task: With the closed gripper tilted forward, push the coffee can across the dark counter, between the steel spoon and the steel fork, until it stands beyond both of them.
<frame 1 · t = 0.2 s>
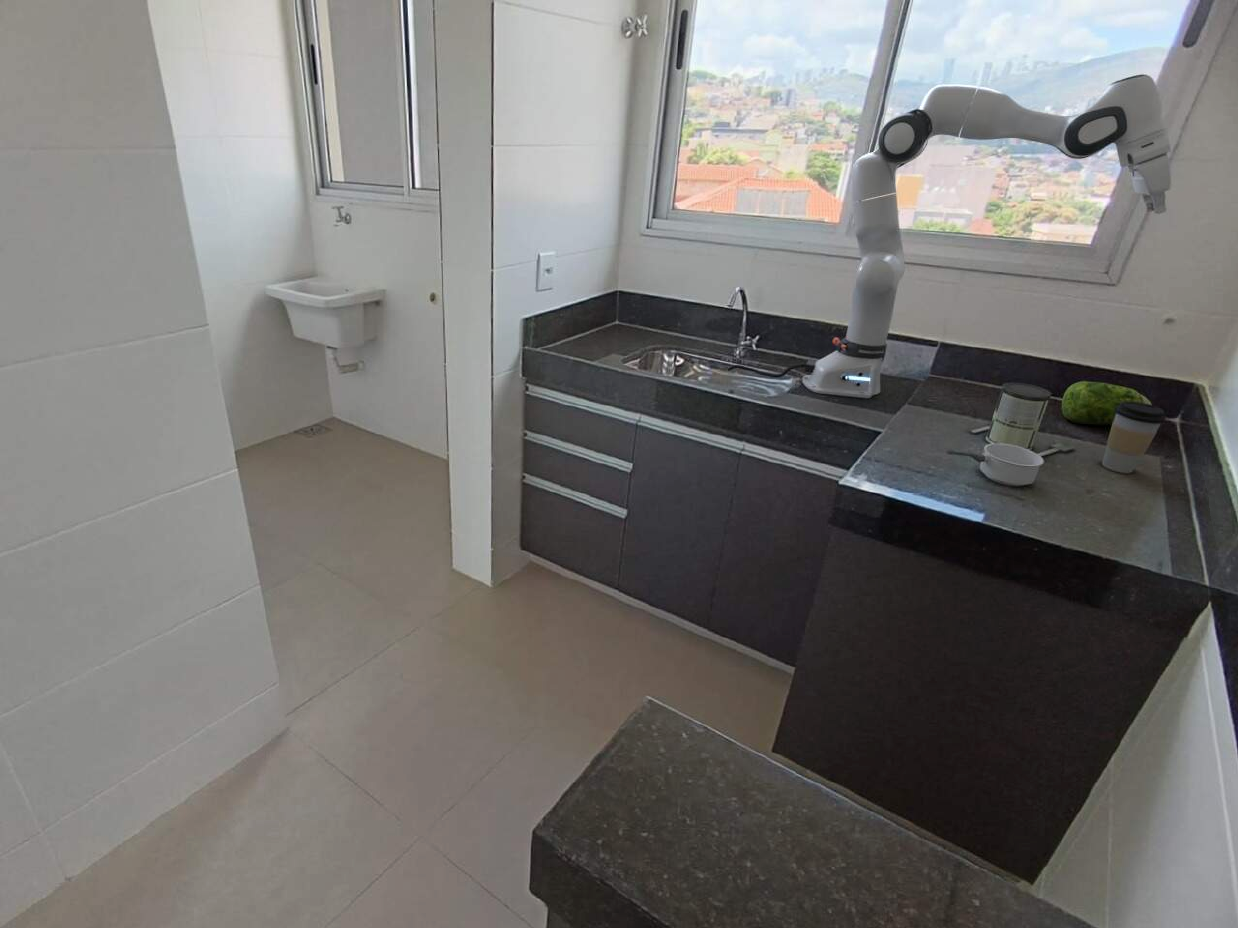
hand: (1156, 211, 149), 54 cm above the countertop, tool tilted 30°, fingers open, 8 cm apart
coffee cup: (1116, 468, 152), on the countertop
coffee can: (1008, 444, 162), on the countertop
green oval lump: (1100, 424, 178), on the countertop
fork: (989, 428, 170), on the countertop
spoon: (1051, 452, 158), on the countertop
saucepan: (985, 476, 144), on the countertop
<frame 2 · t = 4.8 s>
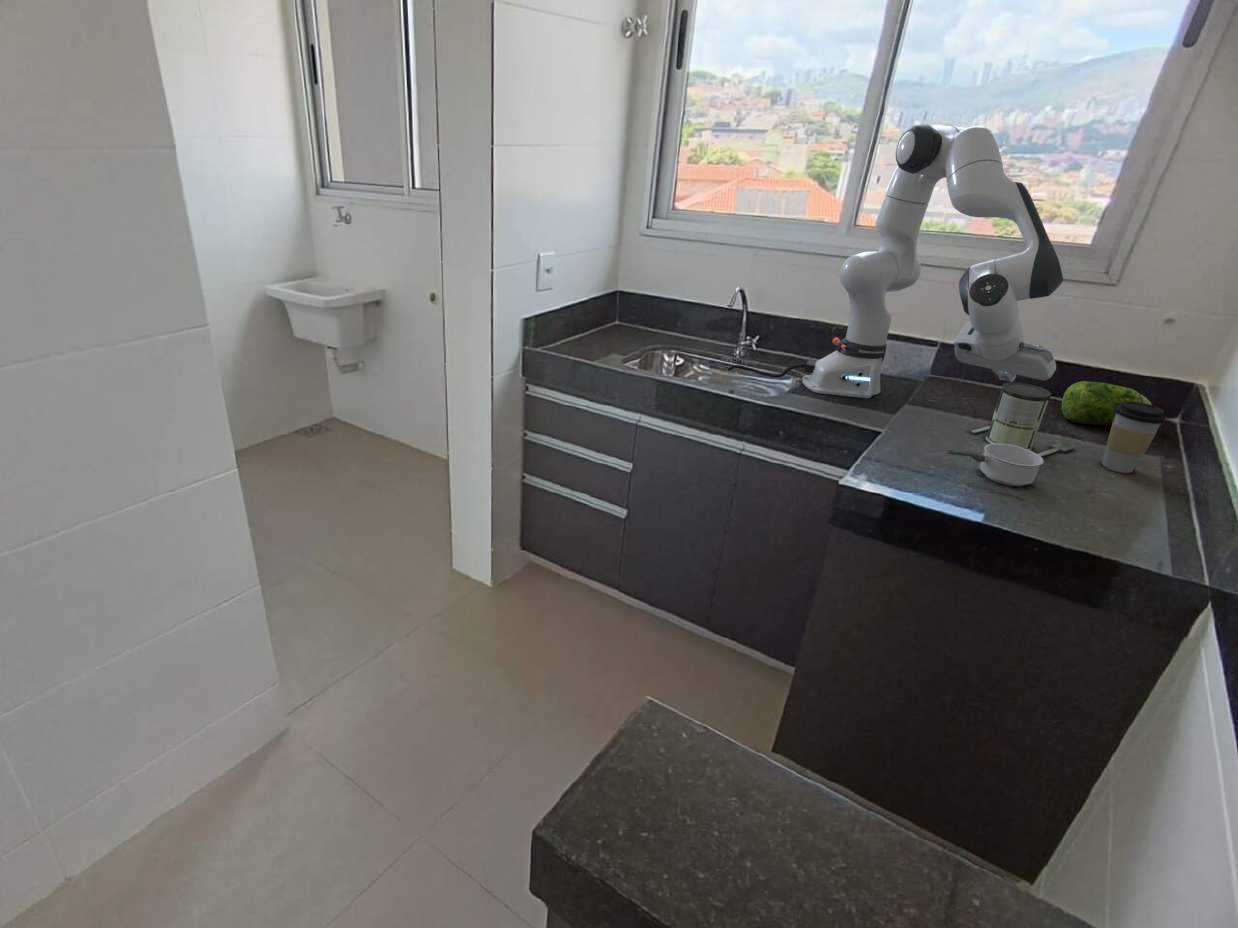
hand: (1007, 378, 150), 18 cm above the countertop, tool tilted 45°, fingers closed
nothing on the countertop moved.
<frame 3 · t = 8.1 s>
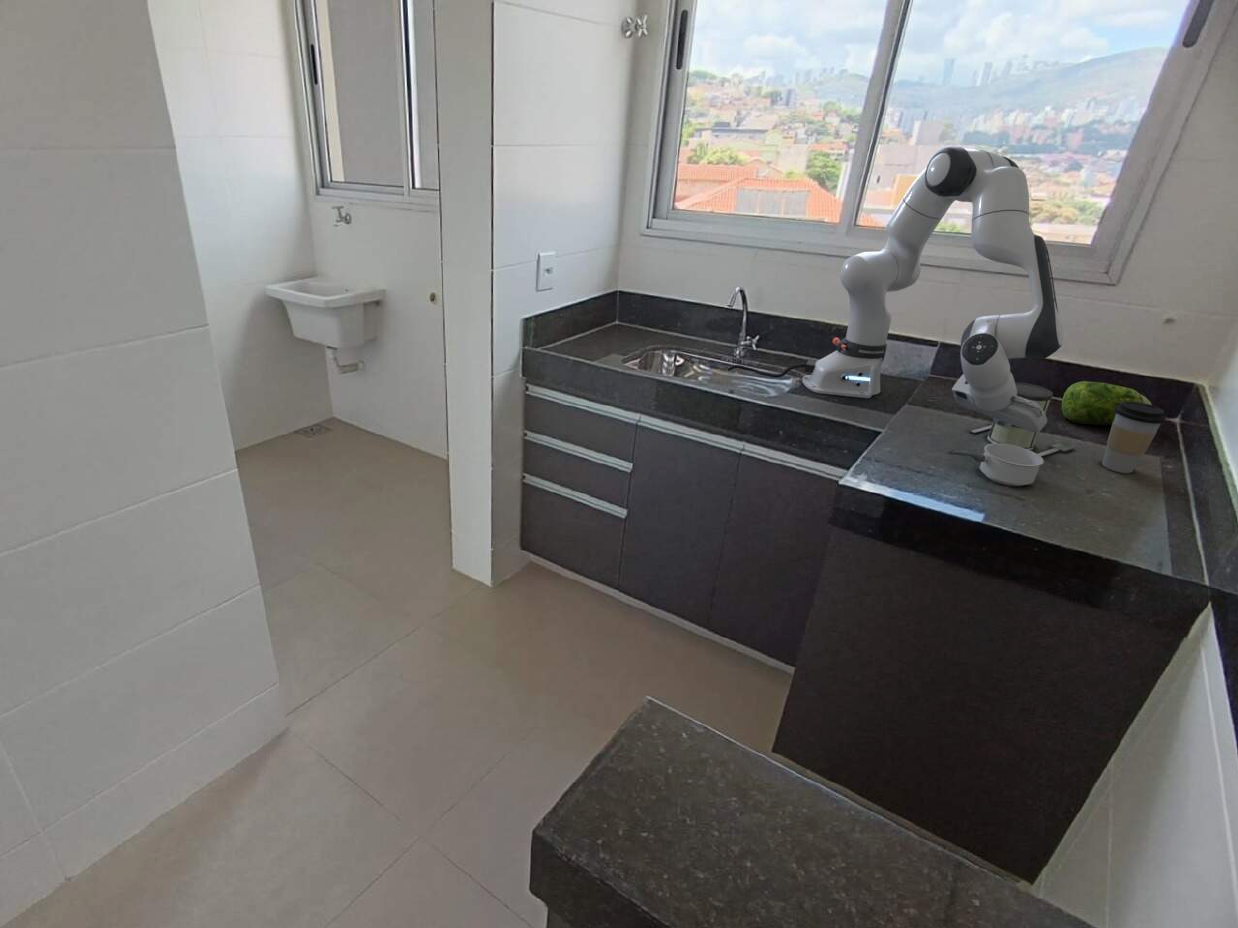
hand: (1004, 424, 157), 6 cm above the countertop, tool tilted 45°, fingers closed, pressing on coffee can
coffee can: (1009, 443, 162), on the countertop, touching gripper
everything else where it was.
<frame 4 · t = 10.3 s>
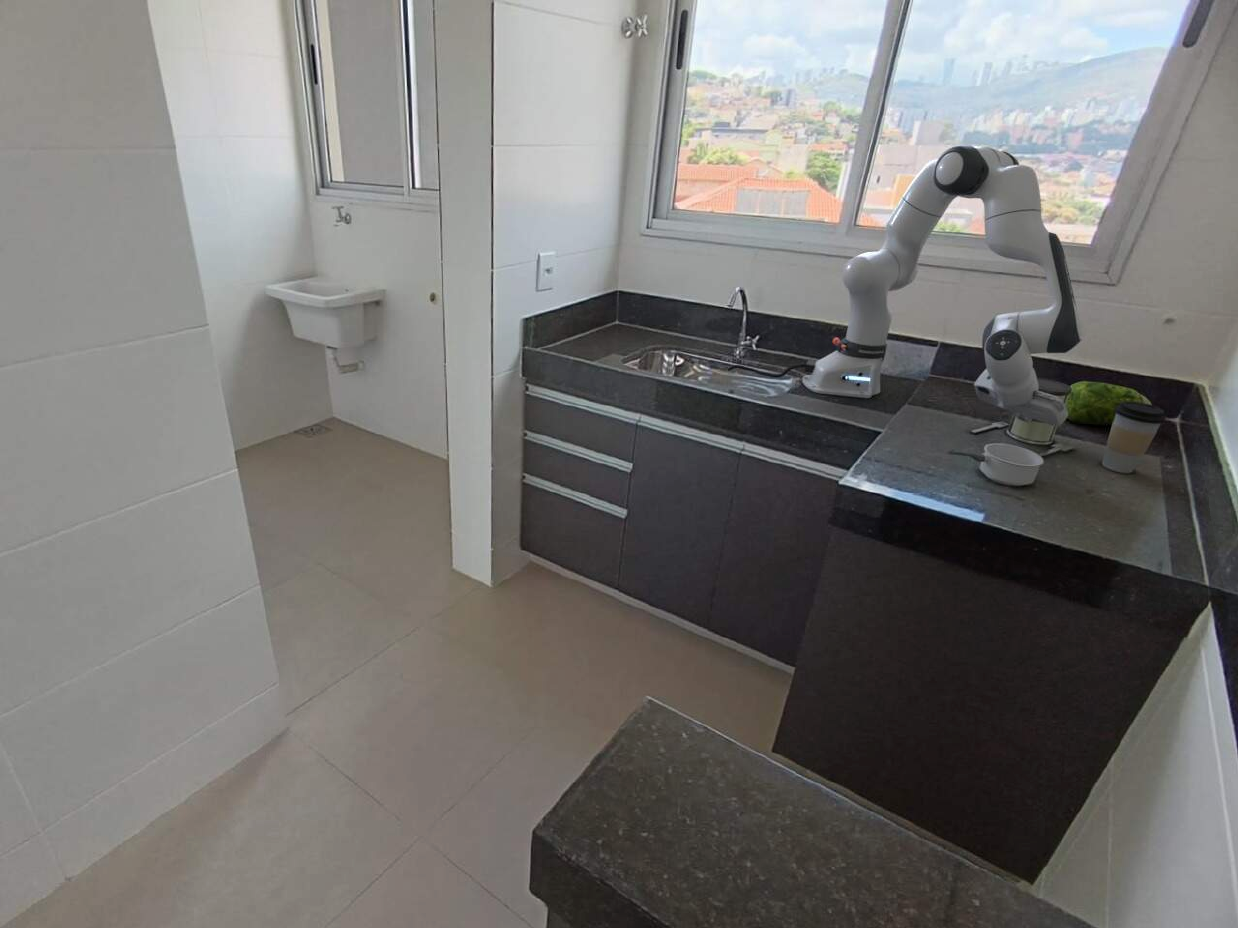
hand: (1025, 419, 161), 6 cm above the countertop, tool tilted 45°, fingers closed, pressing on coffee can
coffee can: (1028, 437, 167), on the countertop, touching gripper
everything else where it was.
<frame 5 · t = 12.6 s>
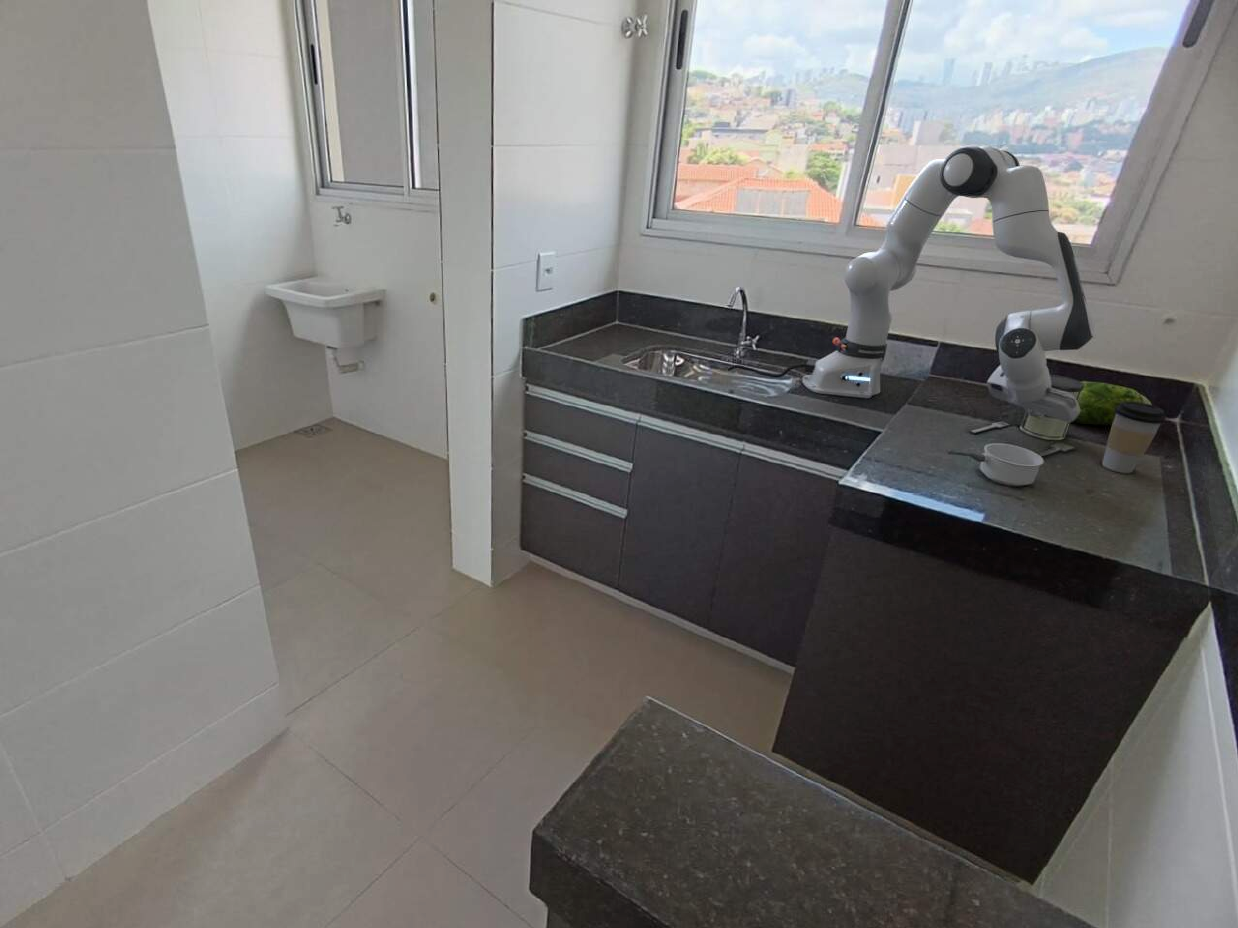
hand: (1037, 415, 164), 6 cm above the countertop, tool tilted 45°, fingers closed
coffee can: (1041, 433, 170), on the countertop
everything else where it was.
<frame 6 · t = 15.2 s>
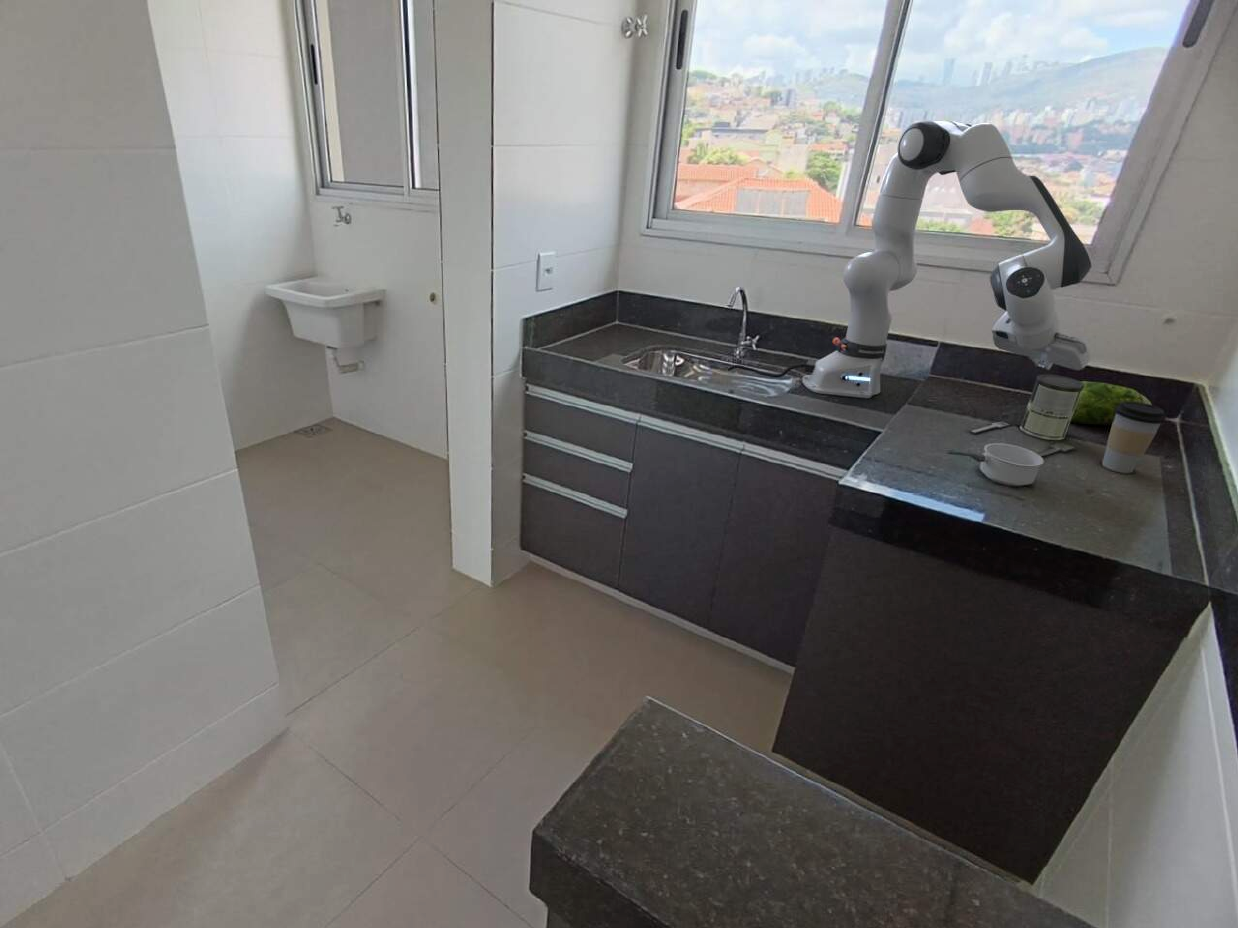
hand: (1044, 366, 156), 19 cm above the countertop, tool tilted 45°, fingers closed
nothing on the countertop moved.
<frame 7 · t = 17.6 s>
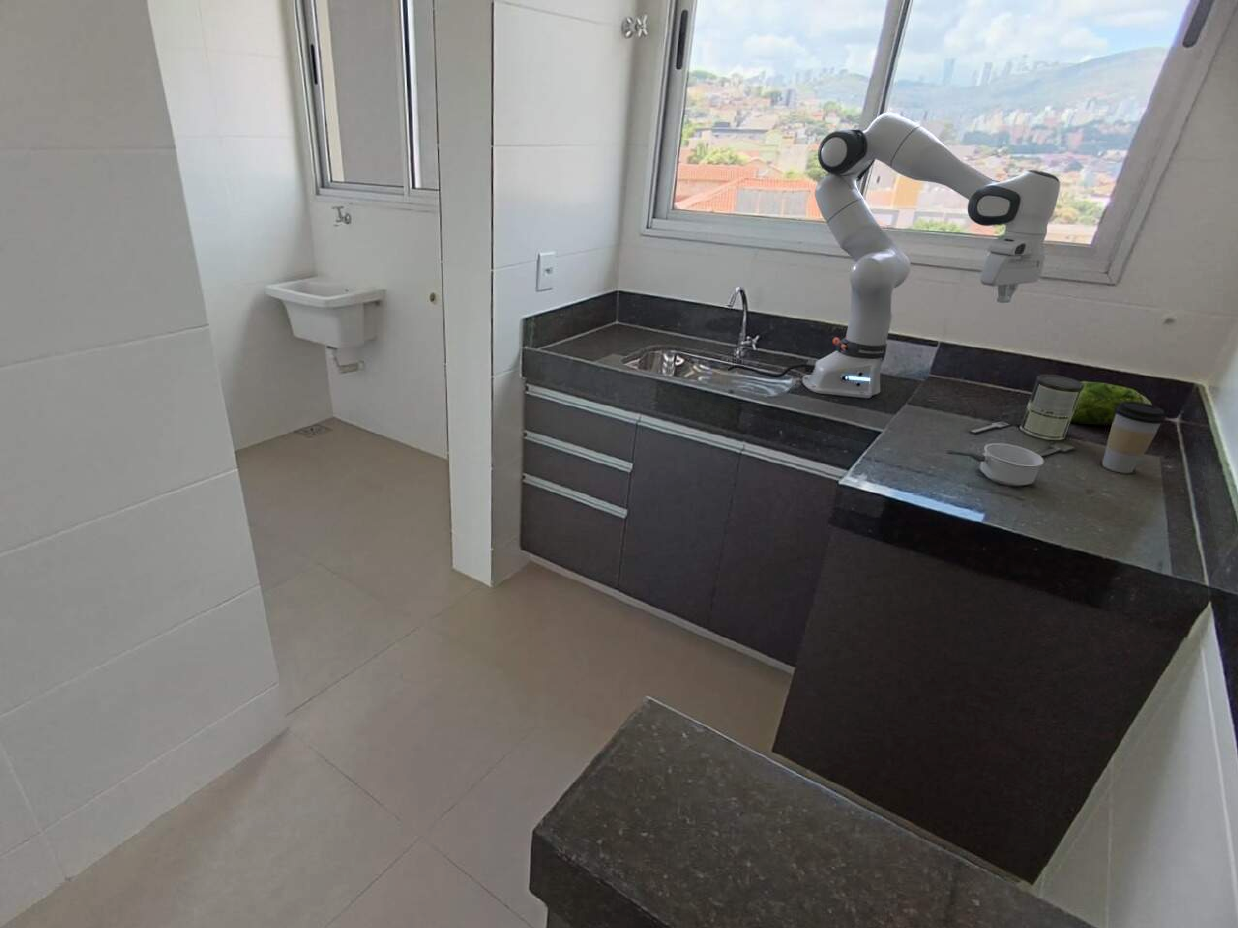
hand: (1003, 302, 165), 31 cm above the countertop, tool pointing down, fingers closed
nothing on the countertop moved.
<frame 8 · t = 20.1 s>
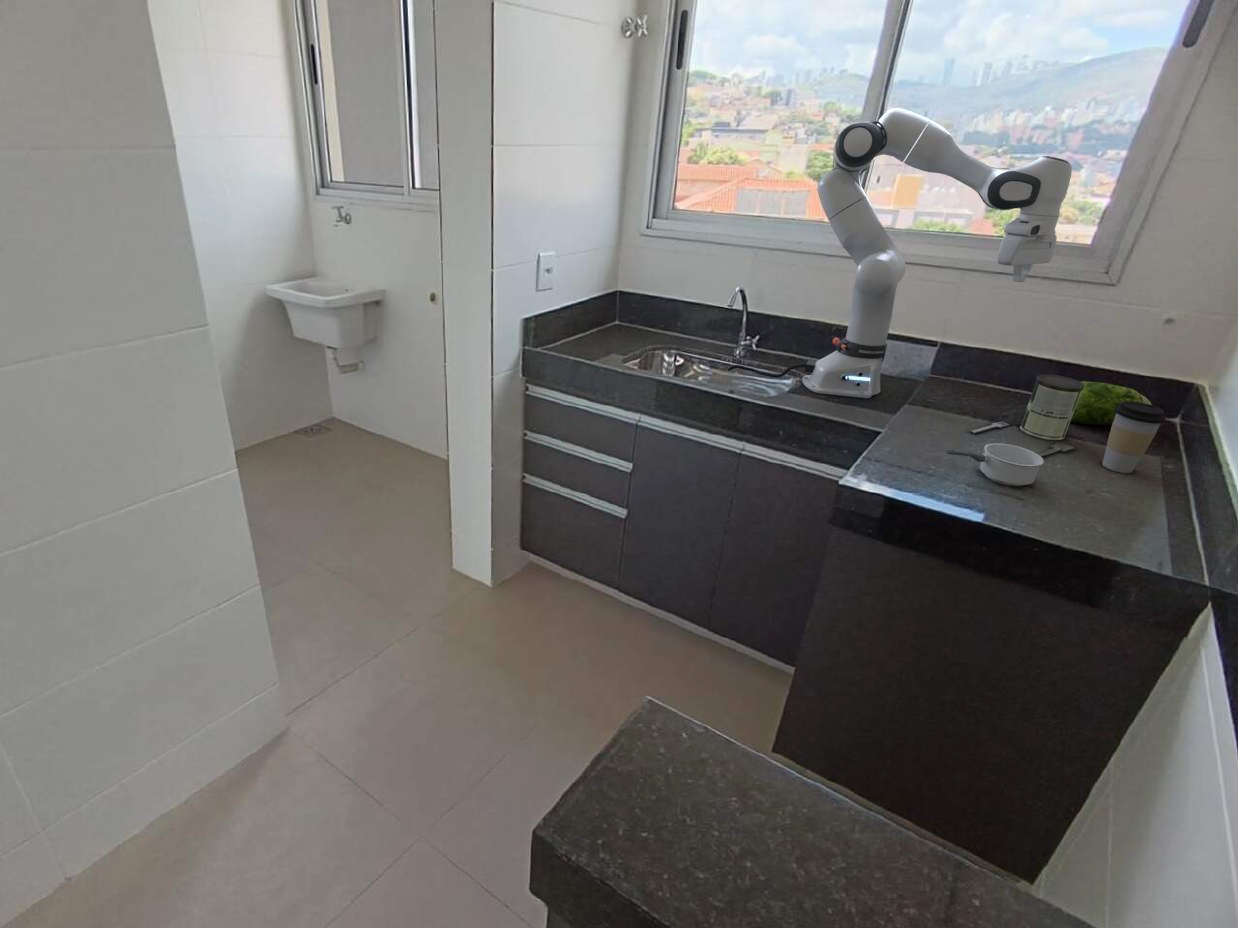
hand: (1018, 281, 174), 34 cm above the countertop, tool pointing down, fingers closed
nothing on the countertop moved.
at the end: coffee can inside the target area (3.9 cm from its centre), on the countertop; coffee can tilted 0°; coffee can moved 15.9 cm from its start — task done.
